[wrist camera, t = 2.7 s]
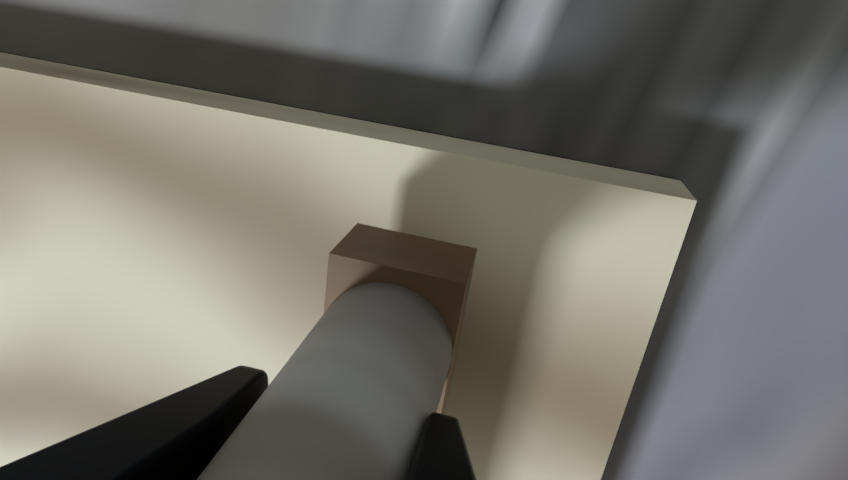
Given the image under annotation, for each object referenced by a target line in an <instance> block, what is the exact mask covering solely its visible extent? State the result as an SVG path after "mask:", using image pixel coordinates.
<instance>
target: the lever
mask: <svg viewBox="0 0 848 480" xmlns="http://www.w3.org/2000/svg"><path fill="white" fill-rule="evenodd" d="M476 252H477V248H472V247H468V246H463V245H458V244H453V243H449V242H444V241H439V240H435V239H430V238H425V237H421V236H416V235H411V234H407V233H402V232H397V231H392V230H388V229H383V228H378V227H374V226H369V225H364V224H360V223H357V224H356V225H355V226H354V227H353V228H352V229H351V230H350V231H349V233H348V234H347V235H346V236H345V237H344V238H343V239H342V240H341V241H340V242H339V243H338V244H337V245H336V246H335V247H334V248H333V250H332V251H331V252H330V253H329V258H328V269H327V281H326V292H325V303H324V314H323V316H322V317H321V318H320V319H319V321H318V322H317V323H316V325H315V326H314V327H313V329H312V330H311V331H310V332H309V334H308V335H307V336H306V338H305V339H304V340H303V342H302V343H301V344H300V346H299V347H298V348H297V349H296V351H295V352H294V353H293V355H292V356H291V357H290V359H289V360H288V361H287V362H286V364H285V365H284V366H283V368H282V369H281V370H280V372H279V373H278V374H277V375H276V377H275V378H274V379H273V381H272V382H271V383H270V385H269V386H268V387H267V389H266V390H265V391H264V392H263V394H262V395H261V396H260V398H259V399H258V400H257V402H256V403H255V404H254V405H253V407H252V408H251V409H250V411H249V412H248V413H247V415H246V416H245V417H244V418H243V420H242V421H241V422H240V424H239V425H238V426H237V428H236V429H235V430H234V432H233V433H232V434H231V435H230V437H229V438H228V439H227V441H226V442H225V443H224V445H223V446H222V447H221V448H220V450H219V451H218V452H217V454H216V455H215V456H214V458H213V459H212V460H211V462H210V463H209V464H208V465H207V467H206V468H205V469H204V471H203V472H202V473H201V475H200V476H199V477H198V478H197V480H408V477H409V471H410V467H411V464H412V461H413V458H414V455H415V452H416V449H417V447H418V444H419V441H420V438H421V436H422V433H423V430H424V427H425V424H426V422H427V419H428V416H429V415H430V414H431V413H432V412H436V413H440V414H444V415H445V410H446V405H447V400H448V395H449V390H450V385H451V379H452V374H453V369H454V364H455V359H456V354H457V349H458V344H459V339H460V334H461V329H462V324H463V318H464V313H465V308H466V303H467V298H468V293H469V288H470V283H471V278H472V273H473V268H474V263H475V257H476Z"/></svg>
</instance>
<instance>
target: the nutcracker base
mask: <svg viewBox="0 0 848 480" xmlns="http://www.w3.org/2000/svg"><path fill="white" fill-rule="evenodd" d="M696 203H697V200H696V199H695V198H694V196H693V195H692V194H691V193H690V192H689V190H688V189H687V188H686V187H685V185H684V184H683V183H682V182H681V180H676V179H671V178H665V177H660V176H655V175H649V174H644V173H639V172H633V171H628V170H623V169H618V168H612V167H607V166H602V165H596V164H591V163H586V162H580V161H575V160H570V159H565V158H559V157H554V156H549V155H543V154H538V153H533V152H527V151H522V150H517V149H511V148H506V147H501V146H496V145H490V144H485V143H480V142H474V141H469V140H464V139H458V138H453V137H448V136H443V135H437V134H432V133H427V132H421V131H416V130H411V129H405V128H400V127H395V126H390V125H384V124H379V123H374V122H368V121H363V120H358V119H352V118H347V117H342V116H336V115H331V114H326V113H321V112H315V111H310V110H305V109H299V108H294V107H289V106H283V105H278V104H273V103H268V102H262V101H257V100H252V99H246V98H241V97H236V96H230V95H225V94H220V93H215V92H209V91H204V90H199V89H193V88H188V87H183V86H177V85H172V84H167V83H161V82H156V81H151V80H146V79H140V78H135V77H130V76H124V75H119V74H114V73H108V72H103V71H98V70H93V69H87V68H82V67H77V66H71V65H66V64H61V63H55V62H50V61H45V60H39V59H34V58H29V57H24V56H18V55H13V54H8V53H2V52H0V467H1V466H4V465H6V464H8V463H11V462H13V461H15V460H18V459H20V458H23V457H25V456H27V455H30V454H32V453H34V452H37V451H39V450H41V449H44V448H46V447H48V446H51V445H53V444H56V443H58V442H60V441H63V440H65V439H67V438H70V437H72V436H74V435H77V434H79V433H81V432H84V431H86V430H88V429H91V428H93V427H96V426H98V425H100V424H103V423H105V422H107V421H110V420H112V419H114V418H117V417H119V416H121V415H124V414H126V413H128V412H131V411H133V410H136V409H138V408H140V407H143V406H145V405H147V404H150V403H152V402H154V401H157V400H159V399H161V398H164V397H166V396H168V395H171V394H173V393H176V392H178V391H180V390H183V389H185V388H187V387H190V386H192V385H194V384H197V383H199V382H201V381H204V380H206V379H208V378H211V377H213V376H216V375H218V374H220V373H223V372H225V371H227V370H230V369H232V368H234V367H237V366H241V365H243V366H248V367H252V368H256V369H260V370H264V371H265V372H266V373H267V376H268V386H269V385H270V383H271V382H272V381H273V379H274V378H275V377H276V375H277V374H278V373H279V372H280V370H281V369H282V368H283V366H284V365H285V364H286V362H287V361H288V360H289V359H290V357H291V356H292V355H293V353H294V352H295V351H296V349H297V348H298V347H299V346H300V344H301V343H302V342H303V340H304V339H305V338H306V336H307V335H308V334H309V332H310V331H311V330H312V329H313V327H314V326H315V325H316V323H317V322H318V321H319V319H320V318H321V317H322V316H323V314H324V303H325V292H326V281H327V269H328V258H329V253H330V252H331V251H332V250H333V248H334V247H335V246H336V245H337V244H338V243H339V242H340V241H341V240H342V239H343V238H344V237H345V236H346V235H347V234H348V233H349V231H350V230H351V229H352V228H353V227H354V226H355V225H356V224H357V223H360V224H364V225H369V226H374V227H378V228H383V229H388V230H392V231H397V232H402V233H407V234H411V235H416V236H421V237H425V238H430V239H435V240H439V241H444V242H449V243H453V244H458V245H463V246H468V247H472V248H477V252H476V257H475V263H474V268H473V273H472V278H471V283H470V288H469V293H468V298H467V303H466V308H465V313H464V318H463V324H462V329H461V334H460V339H459V344H458V349H457V354H456V359H455V364H454V369H453V374H452V379H451V385H450V390H449V395H448V400H447V405H446V410H445V415H448V416H453V417H455V418H457V419H458V421H459V423H460V426H461V429H462V433H463V436H464V439H465V443H466V446H467V449H468V452H469V456H470V459H471V462H472V466H473V469H474V472H475V476H476V479H477V480H601V477H602V475H603V472H604V469H605V466H606V463H607V460H608V457H609V454H610V451H611V449H612V446H613V443H614V440H615V437H616V434H617V431H618V428H619V425H620V423H621V420H622V417H623V414H624V411H625V408H626V405H627V402H628V399H629V396H630V394H631V391H632V388H633V385H634V382H635V379H636V376H637V373H638V370H639V368H640V365H641V362H642V359H643V356H644V353H645V350H646V347H647V344H648V342H649V339H650V336H651V333H652V330H653V327H654V324H655V321H656V318H657V315H658V313H659V310H660V307H661V304H662V301H663V298H664V295H665V292H666V289H667V287H668V284H669V281H670V278H671V275H672V272H673V269H674V266H675V263H676V261H677V258H678V255H679V252H680V249H681V246H682V243H683V240H684V237H685V234H686V232H687V229H688V226H689V223H690V220H691V217H692V214H693V211H694V208H695V206H696Z"/></svg>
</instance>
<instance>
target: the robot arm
mask: <svg viewBox="0 0 848 480" xmlns="http://www.w3.org/2000/svg"><path fill="white" fill-rule="evenodd" d="M267 387H268V376H267V373H266V372H265V371H264V370H260V369H256V368H252V367H248V366H243V365H241V366H237V367H234V368H232V369H230V370H227V371H225V372H223V373H220V374H218V375H216V376H213V377H211V378H208V379H206V380H204V381H201V382H199V383H197V384H194V385H192V386H190V387H187V388H185V389H183V390H180V391H178V392H176V393H173V394H171V395H168V396H166V397H164V398H161V399H159V400H157V401H154V402H152V403H150V404H147V405H145V406H143V407H140V408H138V409H136V410H133V411H131V412H128V413H126V414H124V415H121V416H119V417H117V418H114V419H112V420H110V421H107V422H105V423H103V424H100V425H98V426H96V427H93V428H91V429H88V430H86V431H84V432H81V433H79V434H77V435H74V436H72V437H70V438H67V439H65V440H63V441H60V442H58V443H56V444H53V445H51V446H48V447H46V448H44V449H41V450H39V451H37V452H34V453H32V454H30V455H27V456H25V457H23V458H20V459H18V460H15V461H13V462H11V463H8V464H6V465H4V466H1V467H0V480H197V478H198V477H199V476H200V475H201V473H202V472H203V471H204V469H205V468H206V467H207V465H208V464H209V463H210V462H211V460H212V459H213V458H214V456H215V455H216V454H217V452H218V451H219V450H220V448H221V447H222V446H223V445H224V443H225V442H226V441H227V439H228V438H229V437H230V435H231V434H232V433H233V432H234V430H235V429H236V428H237V426H238V425H239V424H240V422H241V421H242V420H243V418H244V417H245V416H246V415H247V413H248V412H249V411H250V409H251V408H252V407H253V405H254V404H255V403H256V402H257V400H258V399H259V398H260V396H261V395H262V394H263V392H264V391H265V390H266V389H267ZM408 480H477V479H476V476H475V472H474V469H473V466H472V462H471V459H470V456H469V452H468V449H467V446H466V443H465V439H464V436H463V433H462V429H461V426H460V423H459V421H458V419H457V418H455V417H453V416H448V415H444V414H440V413H436V412H432V413H431V414H430V415H429V416H428V419H427V422H426V424H425V427H424V430H423V433H422V436H421V438H420V441H419V444H418V447H417V449H416V452H415V455H414V458H413V461H412V464H411V467H410V471H409V477H408Z"/></svg>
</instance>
